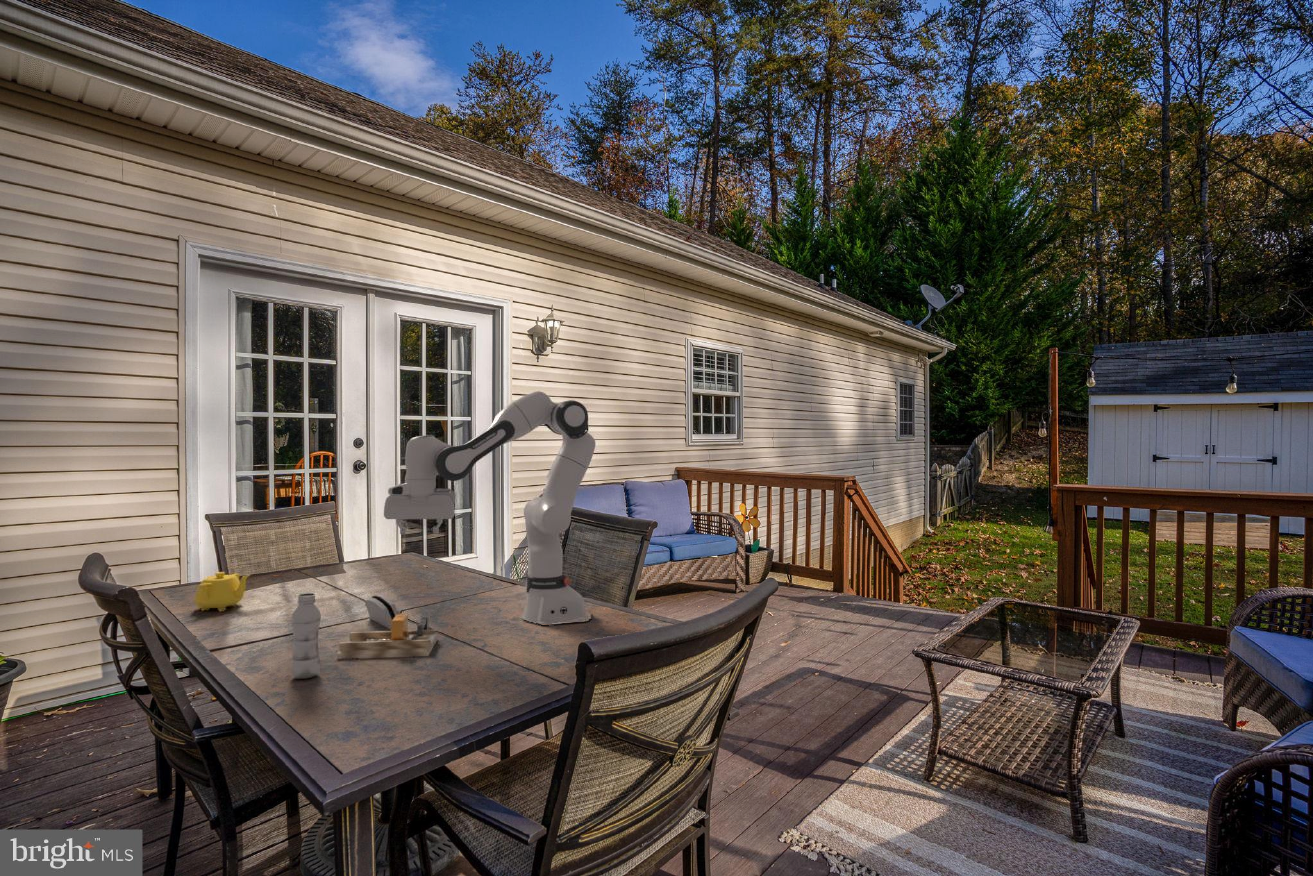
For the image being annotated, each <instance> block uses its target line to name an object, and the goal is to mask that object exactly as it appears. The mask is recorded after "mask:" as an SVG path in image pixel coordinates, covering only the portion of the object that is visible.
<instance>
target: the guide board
mask: <svg viewBox="0 0 1313 876" xmlns="http://www.w3.org/2000/svg"><path fill="white" fill-rule="evenodd" d="M433 633H436V638H435V640H434V641H433V643H432V645H431V639H418V640H394V641H391V630H375V631H374V630H373V631H372V630H371V631H350V632H349V640H348V641H342V642H341V641H340V642H339V650H338V652H337V653H336V660H353V659H352V658H354V659H355V658H359V659H378V658H379V659H380V658H381V659H382V658H383V659H384V658H407V657H408V658H411V657H413V656H415V657H429V656H430V653H431V652H432V650H433V648H434V647H435V645H436V642H437V641H438V633H437V629H428V630H423V634H433ZM410 634H417V629H412V630H411V629H410V630H408V636H409V635H410ZM375 639H378V641H367V640H375ZM380 639H390V641H379V640H380ZM434 644H435V645H434ZM433 646H434V647H433ZM342 658H343V659H342ZM345 658H346V659H345ZM347 658H348V659H347ZM350 658H351V659H350Z"/></svg>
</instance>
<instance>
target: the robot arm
mask: <svg viewBox="0 0 1313 876" xmlns="http://www.w3.org/2000/svg"><path fill="white" fill-rule="evenodd" d="M542 425H544V426H545V427H546V428H548V429H549V430H550V431H551V432H552V433H554V434H556V435H561V436H562V444H561V447H560V449H559V451H558V452H557V454H556V457H555V458H554V460H553V463H552V465H551V467H550V469H549V471H548V473H547V475H546V480H545V481H546V482H545V485H544V489H543V493H542V496H538V497H535V498H532V499H530V500H529V501H528V502H527V503H526V504H525V506H524V508H523V517H524V520H525V533H526V534H525V535H526V542H527V548H528V551H527V552H528V556H527V557H528V558H527V560H528V562H527V563H528V564H527V574H526V578H525V579H526V581H525V591H526V598H525V605H524V609H523V613H522V616H521V618H523V619H524V620H527V621H529V622H528V623H530V622H537V623H539V624H552V623H558V622H567V621H571V620H574V619H579V618H581V617H585V615H586V611H585V609H586V604H585V601H584V600H585V599H584V597H583V596H582V595H581V594H580V593H579V592H577V591H576V590H575V589H574V588H572V587H571V586H570V585H569V584H570V583H571V578H570V577H569V576H568V575H567V574H564V573H563V559H564V558H563V553H564V552H563V550H564V549H563V546H562V544H561V539H560V534H562V533H564V532H565V531H567V530H568V528H569V527H570V524H571V522H572V519H571V518H572V516H571V515H572V512H573V507H574V503H575V501H576V496H577V493H578V490H579V488H580V485H581V483H582V481H583V479H584V477H585V475H586V473H587V470H588V468H589V466H590V464H591V462H592V460H593V459H592V458H593V456H594V452H595V450H596V449H595V448H596V439H595V438H594V437H593V435H591V434H590V433H589V412H588V409H587V407H586V406H585V405H584V404H582V403H581V402H579V401H577V400H573V399H571V400H570V399H569V400H564V401H560V402H558V403H556V402H553V401H552V399H551V398H550V396H549V395H548V394H547V393H545V392H544V391H540V390H537V391H534V392H531V393H528V394H526V395H524V396H521V397H520V398H518V399H516V400H514V401H513V402H511V403H509V404H508V405H506V406H504V408H502V409H501V410H500V411H499V412H498V413H497V414H496V415H495V416H494V419H493V421H492V422H491V424H490V426H488V428H487V429H485V430H484V431H482V432H481V433H480V434H478V435H476V436H475V437H473V438H472V439H470V440H468V442H466V443H464V444H461V445H457V446H454V445H452V444H448V443H446V442H443V440H440V439H438V438H436V437H435V436H434V435H433V434H427V435H426V434H425V435H420V436H418V435H417V436H415V437H412V438H410V439H409V440H408V441H407V443H406V448H405V457H404V458H405V459H404V465H405V470H406V471H405V472H406V473H405V476H404V483H399V484H397V485H394V486H391V487H389V488H388V490H387V491H388V492H387V493H388V496H387V497H386V499H385V502H384V507H383V517H384V518H385V520H396V525H397V526H398V528H399V534H400V535H406V534H407V527H404V525H403V524H402V523H403V522H404V521H403V520H436V523H437V525H436V527H435V526H434V527H433V528H432V534H433V535H438V534H439V532H440V531H439V528H440V527H441V525H442V523H443V520H451V519H453V518H454V516H455V514H456V510H455V501H456V492H455V491H454V490H452V489H451V488H436V487H437V486H436V485H437V483H436V481H437V480H436V479H437V478H436V477H437V476H440V477H441V478H443V479H444V480H446V481H451V482H456V481H461V480H462V479H464V478H465V477H467V475H468V474H469V473H470V472H471V470H472V469H473V468H474V466H475V465H476V463H478V462H479V460H481V459H483V458H484V457H485V456H487V455H488V454H491V452H493V451H494V450H496V449H498V448H499V447H502V445H505V444H508V443H511V442H513V441H516V440H518V439H520V438H522V437H524V436H526V435H527V434H529V433H531V432H533V430H535V429H537V428H538V427H541V426H542ZM523 619H522V620H523ZM524 620H523V621H524ZM527 621H526V622H527Z"/></svg>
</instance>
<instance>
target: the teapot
mask: <svg viewBox="0 0 1313 876" xmlns="http://www.w3.org/2000/svg"><path fill="white" fill-rule="evenodd" d="M214 573H215V574H214V575H212V576H207V577H205V578H203V579H202V581H201V583H200V584H199V585H198V588H197V590H196V593H195V596H194V597H195V598H194V603H195V604H196V606H197V607H198V608H201V609H200V610H207V611H209V610H210V609H216V608H217V611H218V610H226V611H227V607H230V606H235V607H237V606H236V605H238V603H239V602H241V601H242V599H243V598H244V594H245V591H246V589H247V588H246V586H247V585H246V584H247V579H248V578H249V576H251V574H248V575H243V576H242V577H241V579H240V574H239V573H233V574H225V573H226V572H225V571H219V572H218V571H217V572H214Z"/></svg>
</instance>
